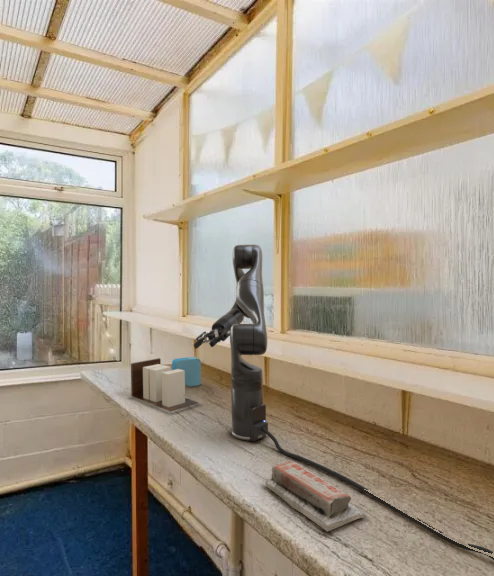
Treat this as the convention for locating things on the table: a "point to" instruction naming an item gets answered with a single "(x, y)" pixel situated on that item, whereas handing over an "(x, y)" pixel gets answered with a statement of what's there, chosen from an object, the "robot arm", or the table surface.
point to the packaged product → (312, 496)
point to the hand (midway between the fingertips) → (202, 345)
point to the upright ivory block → (173, 387)
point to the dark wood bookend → (138, 385)
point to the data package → (189, 369)
